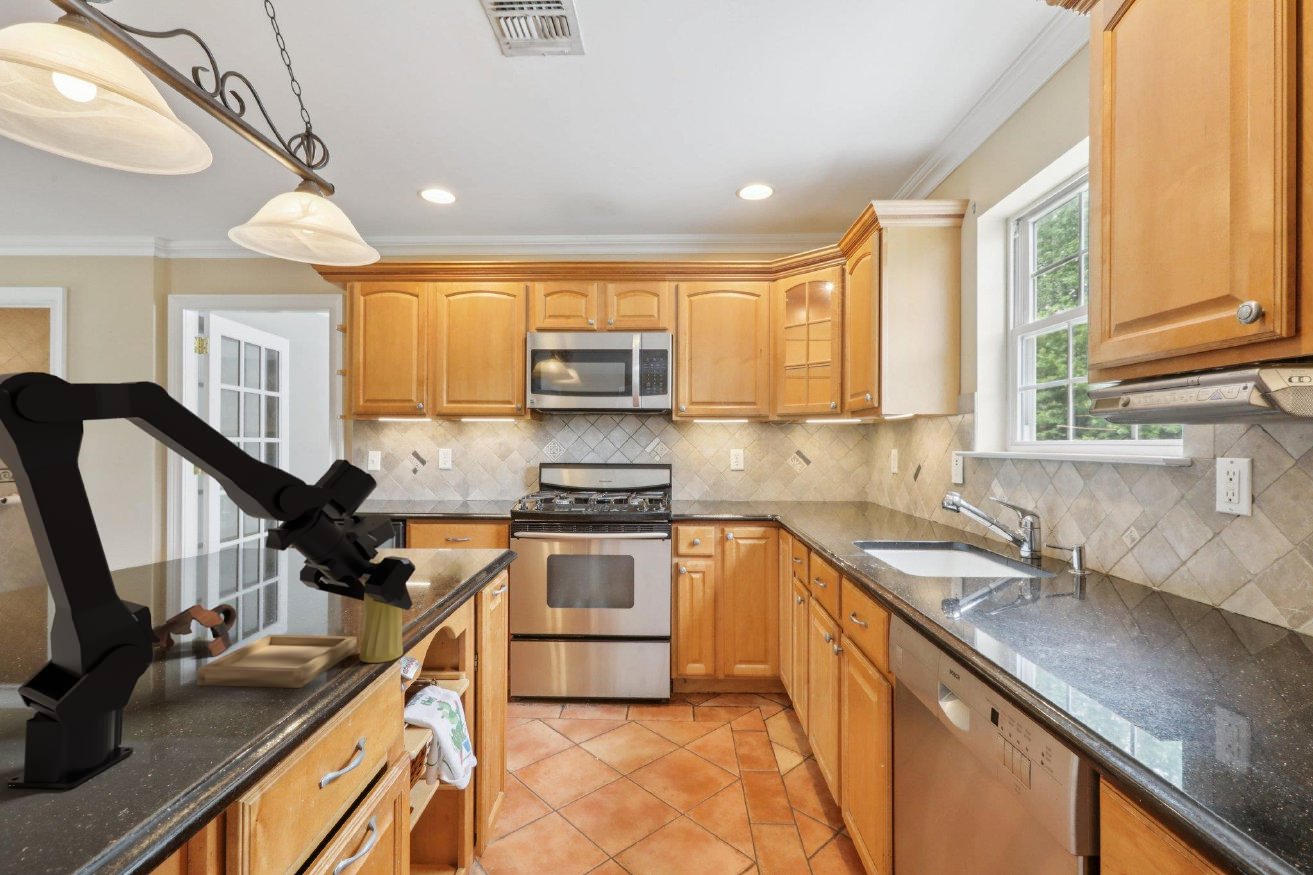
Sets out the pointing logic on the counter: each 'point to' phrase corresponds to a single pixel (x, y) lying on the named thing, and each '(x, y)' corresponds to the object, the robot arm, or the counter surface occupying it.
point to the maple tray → (278, 661)
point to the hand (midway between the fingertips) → (388, 603)
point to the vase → (380, 631)
